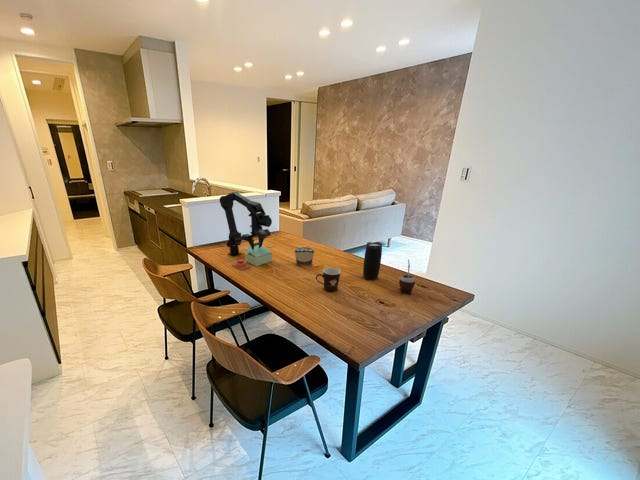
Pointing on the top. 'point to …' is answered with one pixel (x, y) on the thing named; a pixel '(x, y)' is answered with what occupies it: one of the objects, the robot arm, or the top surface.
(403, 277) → the mate gourd
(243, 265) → the button block
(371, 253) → the portable speaker
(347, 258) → the top surface
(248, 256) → the machine
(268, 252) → the machine lid
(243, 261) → the button
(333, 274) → the coffee mug
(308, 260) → the food container
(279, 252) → the top surface
